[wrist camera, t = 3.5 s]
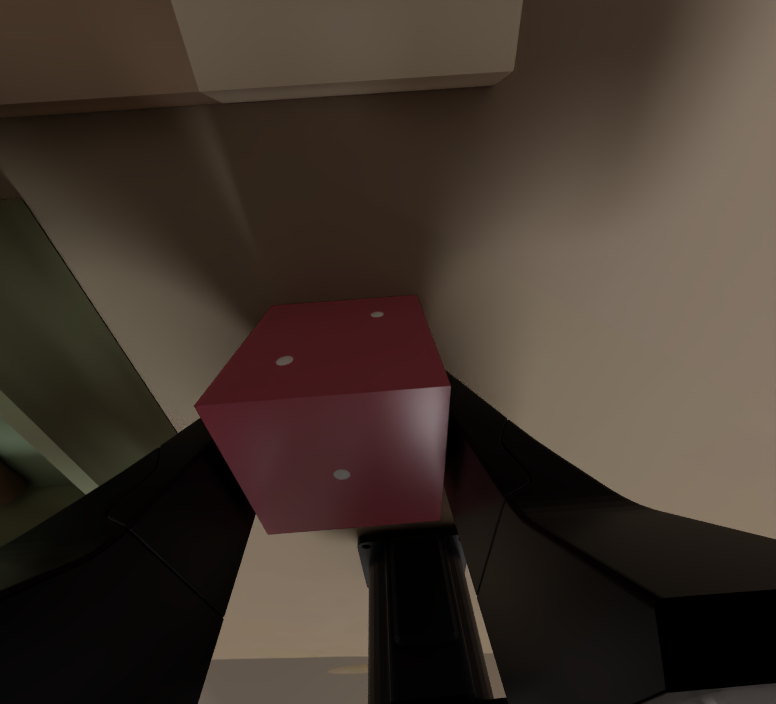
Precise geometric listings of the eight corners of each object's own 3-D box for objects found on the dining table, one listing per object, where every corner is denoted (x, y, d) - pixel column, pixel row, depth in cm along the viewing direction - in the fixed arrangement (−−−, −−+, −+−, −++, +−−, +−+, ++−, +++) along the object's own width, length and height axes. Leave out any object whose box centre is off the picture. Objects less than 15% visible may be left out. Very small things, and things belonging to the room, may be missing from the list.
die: (416, 402, 11) (441, 522, 7) (303, 411, 11) (267, 536, 7) (416, 293, 9) (451, 385, 5) (271, 303, 9) (191, 406, 5)
